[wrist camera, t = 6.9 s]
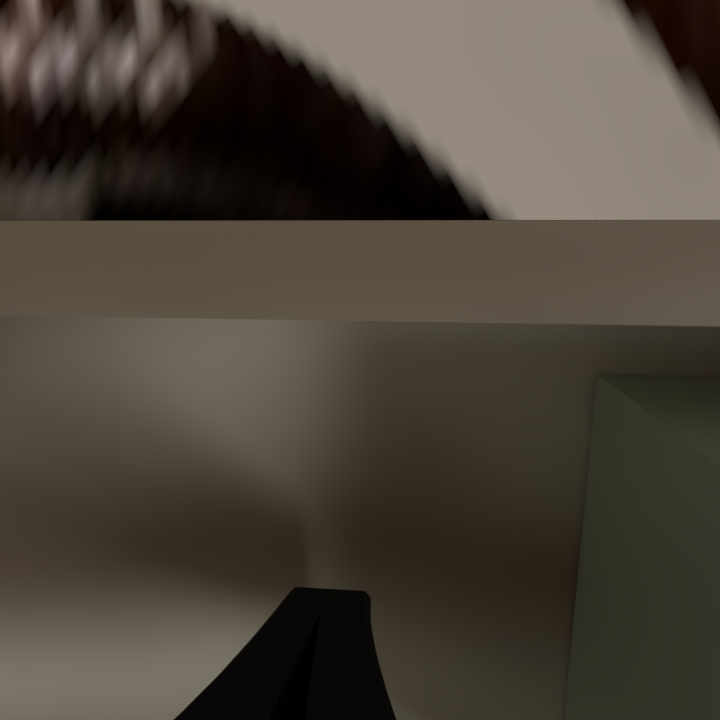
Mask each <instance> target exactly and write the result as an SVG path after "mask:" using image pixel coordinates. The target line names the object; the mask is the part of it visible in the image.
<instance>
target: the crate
mask: <svg viewBox="0 0 720 720" xmlns="http://www.w3.org/2000/svg"><path fill="white" fill-rule="evenodd" d="M564 720H720V377H693V376H650V375H606V374H597V382H596V392H595V402H594V413H593V423H592V433H591V443H590V454H589V464H588V474H587V485H586V495H585V505H584V516H583V526H582V536H581V546H580V557H579V567H578V577H577V588H576V598H575V608H574V618H573V629H572V639H571V649H570V660H569V670H568V680H567V691H566V701H565V711H564Z"/></svg>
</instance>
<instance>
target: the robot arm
mask: <svg viewBox="0 0 720 720" xmlns="http://www.w3.org/2000/svg"><path fill="white" fill-rule="evenodd" d="M174 720H396V717H395V714H394V711H393V708H392V705H391V702H390V699H389V696H388V693H387V690H386V686H385V683H384V679H383V675H382V672H381V668H380V665H379V661H378V657H377V653H376V648H375V643H374V638H373V633H372V626H371V597H370V596H369V595H368V594H367V593H366V592H365V591H358V590H341V589H325V588H308V587H295V588H294V589H292V590H291V591H290V592H289V593H288V595H287V596H286V597H285V598H284V600H283V601H282V602H281V603H280V605H279V606H278V607H277V608H276V610H275V611H274V612H273V613H272V615H271V616H270V617H269V618H268V619H267V621H266V622H265V623H264V624H263V625H262V627H261V628H260V629H259V630H258V631H257V633H256V634H255V635H254V636H253V637H252V638H251V640H250V641H249V642H248V643H247V644H246V645H245V646H244V647H243V648H242V650H241V651H240V652H239V653H238V654H237V655H236V656H235V657H234V658H233V660H232V661H231V662H230V663H229V664H228V665H227V666H226V667H225V668H224V670H223V671H222V672H221V673H220V674H219V675H218V676H217V677H216V678H215V679H214V680H213V681H212V682H211V683H210V684H209V685H208V686H207V687H206V688H205V689H204V690H203V691H202V692H201V693H200V694H199V695H198V696H197V697H196V698H195V699H194V700H193V701H192V702H191V703H190V704H189V705H188V706H187V707H186V708H185V709H184V710H183V711H182V712H181V713H180V714H179V715H178V716H177V717H176V718H175V719H174Z"/></svg>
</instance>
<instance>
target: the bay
mask: <svg viewBox="0 0 720 720" xmlns="http://www.w3.org/2000/svg"><path fill="white" fill-rule="evenodd" d="M597 374H606V375H650V376H693V377H720V220H312V221H0V720H174V719H175V718H176V717H177V716H178V715H179V714H180V713H181V712H182V711H183V710H184V709H185V708H186V707H187V706H188V705H189V704H190V703H191V702H192V701H193V700H194V699H195V698H196V697H197V696H198V695H199V694H200V693H201V692H202V691H203V690H204V689H205V688H206V687H207V686H208V685H209V684H210V683H211V682H212V681H213V680H214V679H215V678H216V677H217V676H218V675H219V674H220V673H221V672H222V671H223V670H224V668H225V667H226V666H227V665H228V664H229V663H230V662H231V661H232V660H233V658H234V657H235V656H236V655H237V654H238V653H239V652H240V651H241V650H242V648H243V647H244V646H245V645H246V644H247V643H248V642H249V641H250V640H251V638H252V637H253V636H254V635H255V634H256V633H257V631H258V630H259V629H260V628H261V627H262V625H263V624H264V623H265V622H266V621H267V619H268V618H269V617H270V616H271V615H272V613H273V612H274V611H275V610H276V608H277V607H278V606H279V605H280V603H281V602H282V601H283V600H284V598H285V597H286V596H287V595H288V593H289V592H290V591H291V590H292V589H294V588H295V587H308V588H325V589H341V590H358V591H365V592H366V593H367V594H368V595H369V596H370V597H371V626H372V633H373V638H374V643H375V648H376V653H377V657H378V661H379V665H380V668H381V672H382V675H383V679H384V683H385V686H386V690H387V693H388V696H389V699H390V702H391V705H392V708H393V711H394V714H395V717H396V720H564V711H565V701H566V691H567V680H568V670H569V660H570V649H571V639H572V629H573V618H574V608H575V598H576V588H577V577H578V567H579V557H580V546H581V536H582V526H583V516H584V505H585V495H586V485H587V474H588V464H589V454H590V443H591V433H592V423H593V413H594V402H595V392H596V382H597Z"/></svg>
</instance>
